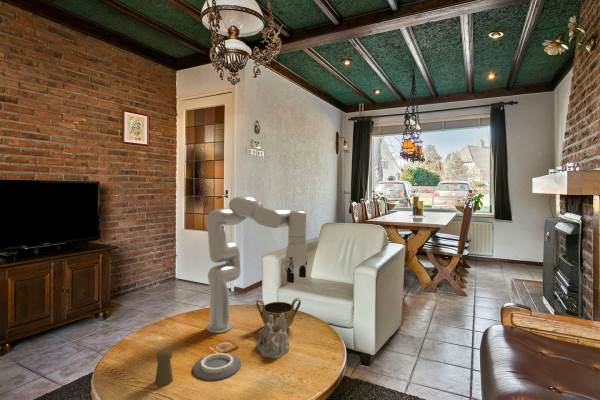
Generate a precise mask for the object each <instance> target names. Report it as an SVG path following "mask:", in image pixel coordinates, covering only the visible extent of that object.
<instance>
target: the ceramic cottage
mask: <svg viewBox="0 0 600 400" xmlns="http://www.w3.org/2000/svg"><path fill="white" fill-rule="evenodd" d="M258 336H259V337H258V339H257V343H256V348H257V349H258V351H259V352H260V354H261V355H262V356H263V357H265V358H271V359H280V358H282V357H284V356H285V355H286V354H288V353H289V351H290V346H291V345H290V341H289V334H288V328H287V323H286V319H284V313H282V314H281V315H280V317H279V318H276V322H275V326H274V324H273V316H272V315H270V316H269V322H268V323H267V324H266V326H265V325H264V327H263V328H262V329H261V330H260V331H259V332H258Z"/></svg>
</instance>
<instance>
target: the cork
mask: <svg viewBox="0 0 600 400" xmlns="http://www.w3.org/2000/svg"><path fill="white" fill-rule="evenodd" d="M172 356H173V353H172V351H171V349H165V348H164V349H161V350H160V351H158V352H157V354H156V356H155V359H156V362H157V367H156V372H155V380H154V385H155V386H156V387H166V386H168V385H170V384H172V383H173V381H174V377H173V370H172V363H171V359H172Z"/></svg>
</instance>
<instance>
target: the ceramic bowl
mask: <svg viewBox="0 0 600 400" xmlns="http://www.w3.org/2000/svg"><path fill="white" fill-rule="evenodd" d="M296 302H298V303H297V305H296V307H295V304H296ZM259 303H261V304H262V310H261V307H260V305H259ZM301 304H302V301H301V298H299V297H295V298H293V300H292V302H291V303H289V302H286V301H272V302H268V303H266V304H265V301H264V300H263V299H262V298H258V299H257V300H256V303H255V305H256V308H257V309H258V313H259V315H260V317H261V320H262V323H263V325H264V327H265V326H266V324H267V323H268V322H269V316H270V315H272V316H273V324H274V326H275V322H276V318H279V317H280V315H281V314H282V313H284V319H286V323H287V329H288V328H290V327H291V326H292V324H293V323H294V319H295V317H296V314H297V313H298V310H299V309H300V306H301ZM294 307H295V308H294Z"/></svg>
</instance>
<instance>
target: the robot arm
mask: <svg viewBox="0 0 600 400" xmlns="http://www.w3.org/2000/svg"><path fill="white" fill-rule="evenodd" d="M206 216H207V217H206V219H205V226H206V231H207V235H208V236H207V237H208V249H209V250H208V252H209V258H210V261H211V262H213V263H216V264H217V263H222V262H223V263H222V264H217V265H214V266H212V267H211V268H210V269H209V270H208V273H207V281H208V285H209V323H208V324H207V325H206V331H207V332H209V333H211V334H222V333H227V332H229V331H230V330H232V328H233V323H232V322H230V289H229V288H228V285H227V283H230V282H234V281H236V280H237V279H239V278H240V275H241V261H240V260H241V259H240V248H239V247H238V245H237V244H236V243H235V242H234V241H231V240H230V241H227V233H226V231H225V229H224V228H223V227H225V226H235V225H238V224H240V223H243V221H245V220H246V219H250V220H252V221H254V222H255V223H257V224H258V225H261V226H263V227H267V228H271V229H277V228H286V227H287V228H288V229H287V231H288V233H287V234H288V236H287V240H288V242H287V246H286V252H285V263H284V265H283V266H284V268H285V269H284V270H285V272H286V282H287V283H290V284H294V283H295V273H294V271H295V269H297V268H298V278H304V279H305V278H307V277H306V276H307V267H308V266H307V265H308V260H309V257H308V256H307V213H306V212H305V211H303V210H290V209H269V208H266V207H264V204H263V203H262V202H260V201H257V200H256V199H255V198H253V197H251V196H236V197H232V198H231V199H230V201H229V204H228V208H219V209H218V208H217V209H214V210H211V211H210V212H209V213H208V215H206ZM224 262H225V263H224Z"/></svg>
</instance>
